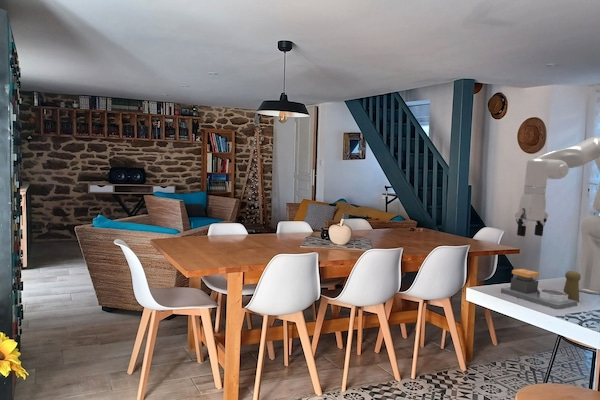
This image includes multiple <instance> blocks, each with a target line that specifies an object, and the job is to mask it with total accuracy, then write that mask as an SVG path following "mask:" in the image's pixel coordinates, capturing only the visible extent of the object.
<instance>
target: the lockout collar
mask: <svg viewBox="0 0 600 400" xmlns="http://www.w3.org/2000/svg"><path fill="white" fill-rule="evenodd" d="M537 297H538V298H539V299H543V300H546V301H549V302H558V303H564V302H568V294H566V293H565V292H563V290H562V291H561V290H559V289H558V290H557V289H555V288H554V289H552V288H538V289H537Z"/></svg>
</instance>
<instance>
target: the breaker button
mask: <svg viewBox="0 0 600 400" xmlns="http://www.w3.org/2000/svg"><path fill="white" fill-rule="evenodd" d="M511 274H513V275H516V277H517V279H519V280H523V281H533V280H534V278H536V277H537V278H538V277H540V272H538V271H533V270H528V269H525V268H519V269H512V270H511Z"/></svg>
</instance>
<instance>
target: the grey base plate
mask: <svg viewBox="0 0 600 400" xmlns="http://www.w3.org/2000/svg"><path fill="white" fill-rule="evenodd" d="M537 289H539V280H536V279H533V281H523V280H519V279H517V276H516V277H511V278H510V287H509V286H508V287H504V288H501V289H500V293H502V294H505V295H508V296H512V297H515V298H518V299H522V300H525V301H528V302H531V301H532V303H536V304H538V303H539V305H541V304H542V305H541V306H545V307H548V306H549V307H548V308H551V307H552V309H554V310H560V309H566V308H571V307H576V306H578V302H577V301H574V300H571V299H568V302H564V303H558V302H549V301H546V300H543V299H539V298H538V297H537Z"/></svg>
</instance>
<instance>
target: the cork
mask: <svg viewBox="0 0 600 400" xmlns="http://www.w3.org/2000/svg"><path fill="white" fill-rule="evenodd" d="M578 272H579V271H578ZM578 272H577V271H574V270H572V271H571V270H570V271H569V270H568V271H566V273H564V274H565V275H564V277H565V279H566V280H565V283H564V287H563V290H562V292H565V293H566V294H568V299H571V300H574V301H577V303H579V302H580V291H579V280H580V279H581V275H580V274H579V273H578Z"/></svg>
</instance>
